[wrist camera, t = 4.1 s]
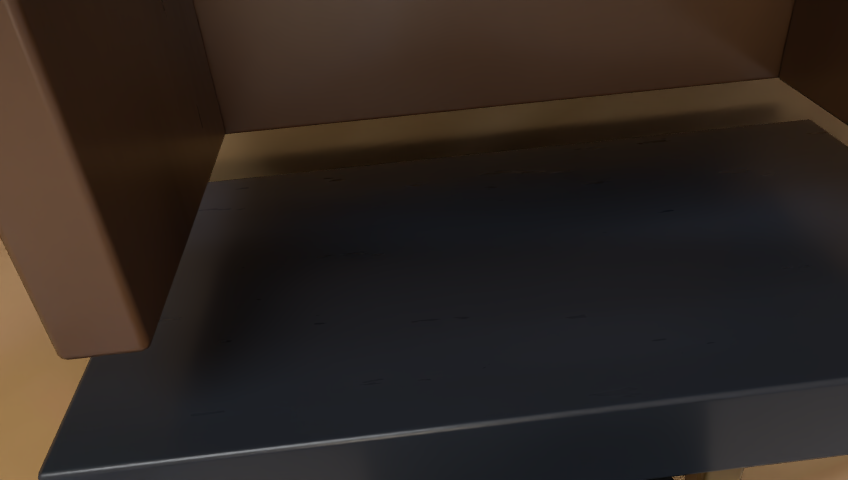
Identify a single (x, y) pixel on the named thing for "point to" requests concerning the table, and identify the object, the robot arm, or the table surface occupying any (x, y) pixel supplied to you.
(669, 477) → the robot arm
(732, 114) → the table surface
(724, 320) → the drawer
